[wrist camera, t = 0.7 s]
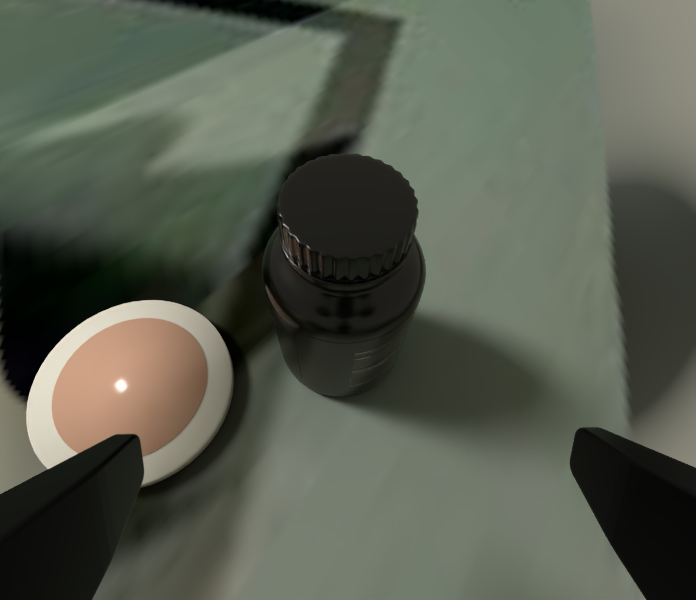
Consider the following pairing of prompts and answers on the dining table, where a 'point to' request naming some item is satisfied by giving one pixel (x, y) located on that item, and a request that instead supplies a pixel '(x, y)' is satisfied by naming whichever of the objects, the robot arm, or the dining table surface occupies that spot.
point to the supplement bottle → (343, 271)
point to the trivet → (133, 386)
